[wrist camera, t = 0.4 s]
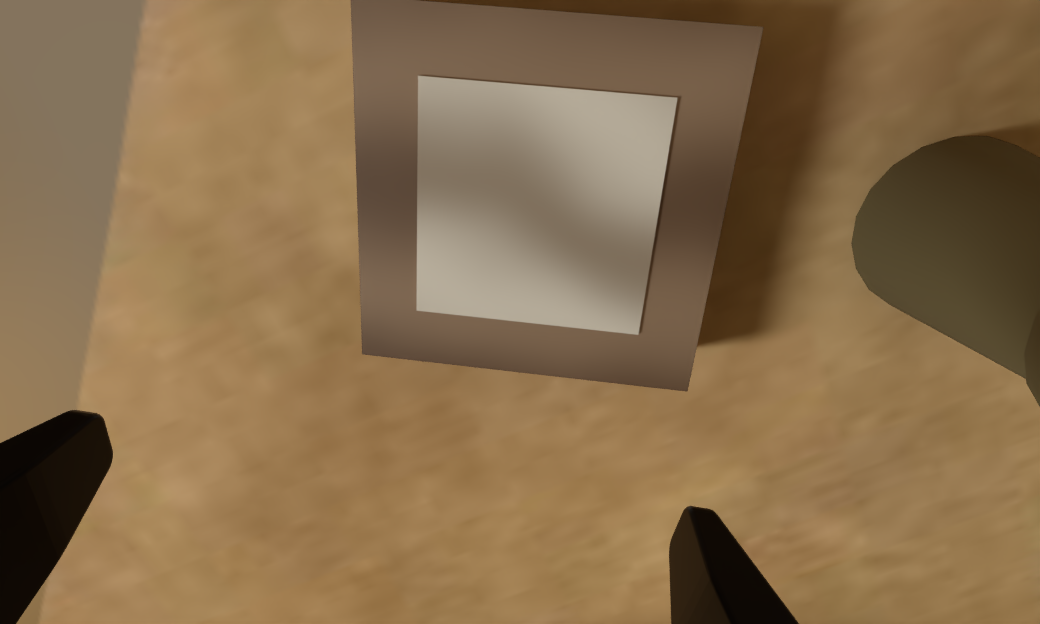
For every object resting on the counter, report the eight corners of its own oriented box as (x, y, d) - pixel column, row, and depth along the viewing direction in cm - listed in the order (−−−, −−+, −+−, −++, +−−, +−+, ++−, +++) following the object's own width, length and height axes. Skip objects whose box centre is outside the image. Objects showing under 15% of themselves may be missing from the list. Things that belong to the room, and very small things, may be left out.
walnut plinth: (676, 350, 24) (687, 393, 21) (387, 318, 24) (361, 355, 21) (738, 28, 19) (764, 27, 16) (383, 0, 20) (349, -5, 17)
